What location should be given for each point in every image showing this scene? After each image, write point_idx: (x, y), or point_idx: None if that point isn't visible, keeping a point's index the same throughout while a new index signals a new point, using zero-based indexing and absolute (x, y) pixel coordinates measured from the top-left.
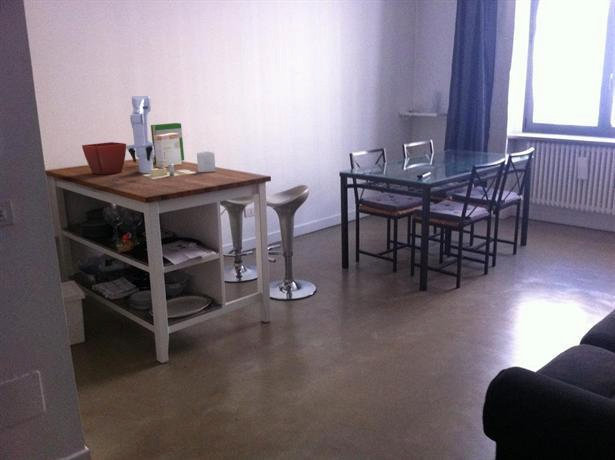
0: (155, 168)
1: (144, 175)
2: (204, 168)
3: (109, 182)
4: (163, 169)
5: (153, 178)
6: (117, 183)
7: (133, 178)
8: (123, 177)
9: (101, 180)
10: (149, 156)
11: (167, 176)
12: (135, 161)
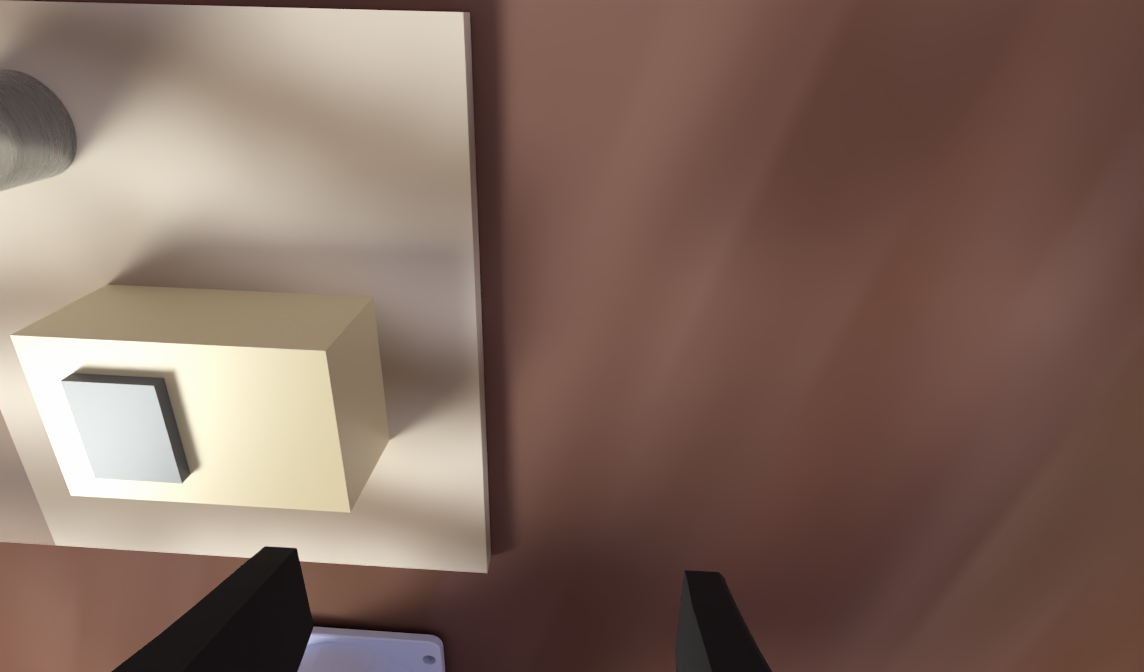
0: (233, 497)
1: (471, 498)
2: None
3: (1121, 436)
4: (94, 333)
5: (438, 49)
6: (1122, 231)
7: (662, 487)
8: None
9: (1061, 661)
10: (180, 635)
11: (125, 62)
12: (704, 587)
